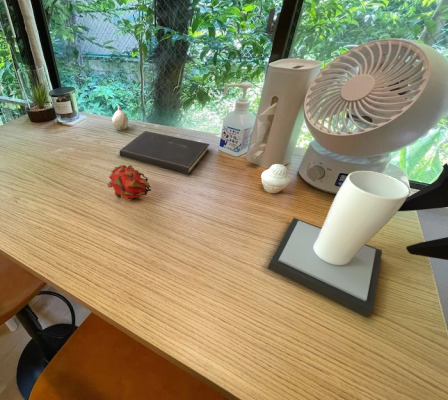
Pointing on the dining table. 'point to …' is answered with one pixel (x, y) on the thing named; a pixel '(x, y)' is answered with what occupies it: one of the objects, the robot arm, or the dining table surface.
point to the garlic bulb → (120, 119)
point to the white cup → (358, 214)
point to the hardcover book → (165, 151)
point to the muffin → (275, 178)
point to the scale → (328, 269)
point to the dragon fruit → (128, 183)
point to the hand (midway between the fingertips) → (400, 227)
